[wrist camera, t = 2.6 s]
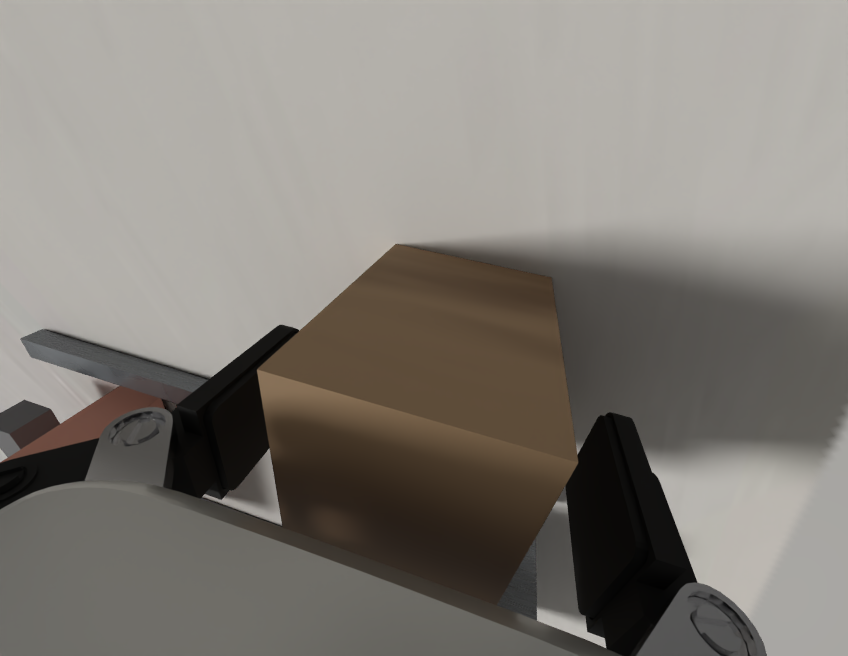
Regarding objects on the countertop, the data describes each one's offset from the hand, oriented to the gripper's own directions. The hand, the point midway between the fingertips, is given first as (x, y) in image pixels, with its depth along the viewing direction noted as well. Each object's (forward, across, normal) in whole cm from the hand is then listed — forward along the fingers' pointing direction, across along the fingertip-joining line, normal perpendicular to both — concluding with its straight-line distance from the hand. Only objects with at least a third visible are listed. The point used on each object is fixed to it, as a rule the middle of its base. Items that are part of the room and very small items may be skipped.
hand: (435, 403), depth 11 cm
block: (+3, 0, 0) cm, 3 cm away
